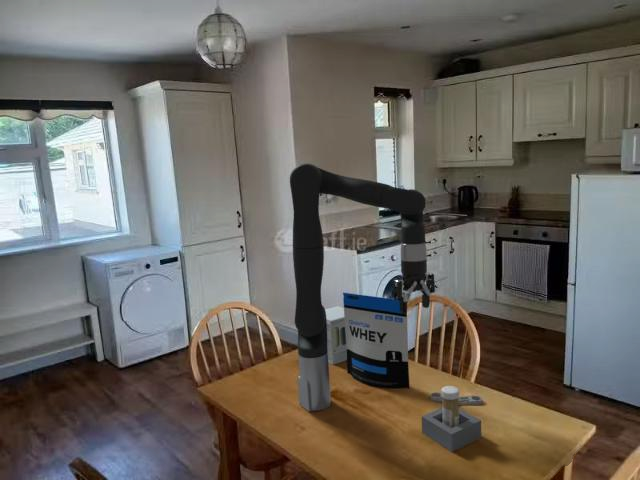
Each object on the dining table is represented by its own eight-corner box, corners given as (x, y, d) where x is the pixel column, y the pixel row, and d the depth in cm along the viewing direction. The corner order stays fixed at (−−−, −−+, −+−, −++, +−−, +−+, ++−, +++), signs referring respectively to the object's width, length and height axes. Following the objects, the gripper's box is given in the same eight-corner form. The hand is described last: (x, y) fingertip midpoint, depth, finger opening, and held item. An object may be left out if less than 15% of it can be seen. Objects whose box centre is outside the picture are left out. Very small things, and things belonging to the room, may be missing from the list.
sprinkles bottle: (462, 438, 130) (462, 391, 128) (447, 441, 129) (446, 394, 127) (454, 429, 134) (453, 384, 132) (439, 432, 134) (438, 386, 131)
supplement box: (332, 365, 181) (329, 320, 178) (313, 355, 192) (310, 312, 189) (360, 356, 188) (358, 312, 185) (340, 346, 199) (338, 305, 196)
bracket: (436, 386, 157) (483, 395, 149) (436, 392, 157) (483, 401, 149) (428, 396, 151) (476, 406, 142) (428, 402, 151) (476, 413, 143)
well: (451, 452, 124) (451, 434, 123) (422, 433, 134) (421, 416, 133) (481, 437, 130) (481, 420, 129) (450, 420, 139) (450, 404, 138)
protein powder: (354, 368, 178) (350, 289, 173) (415, 382, 163) (412, 297, 158) (340, 378, 170) (335, 296, 165) (403, 394, 156) (399, 305, 151)
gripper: (423, 252, 150) (424, 302, 152) (386, 259, 143) (388, 312, 145) (440, 255, 143) (441, 308, 146) (403, 263, 136) (404, 318, 139)
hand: (414, 310), depth 146 cm, fingers open, 8 cm apart
